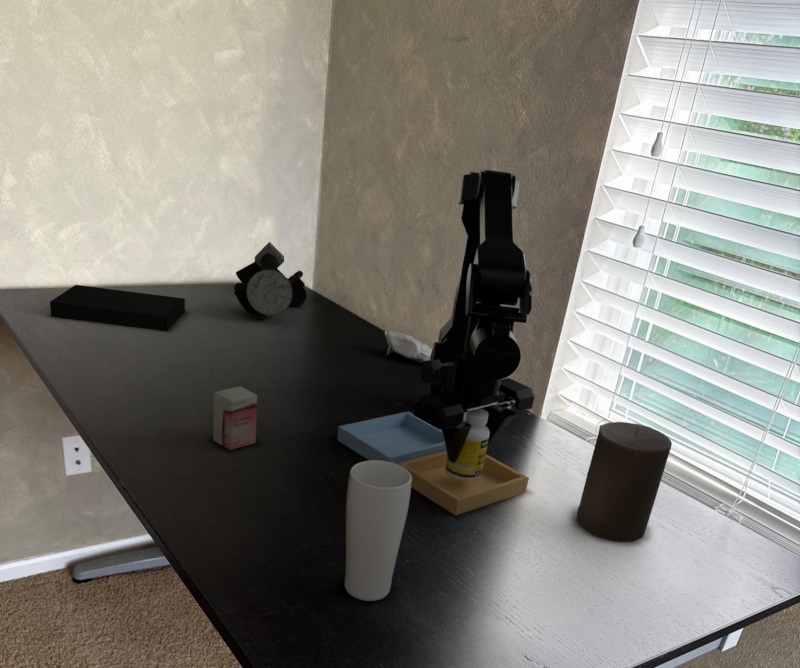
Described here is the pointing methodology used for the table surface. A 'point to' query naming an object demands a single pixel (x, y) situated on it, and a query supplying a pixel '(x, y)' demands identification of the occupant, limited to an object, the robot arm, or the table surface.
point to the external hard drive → (118, 307)
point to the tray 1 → (392, 438)
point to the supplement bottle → (471, 449)
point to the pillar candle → (623, 480)
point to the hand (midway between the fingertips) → (466, 457)
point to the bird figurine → (407, 346)
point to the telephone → (268, 285)
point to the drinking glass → (374, 526)
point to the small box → (234, 417)
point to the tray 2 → (464, 483)
